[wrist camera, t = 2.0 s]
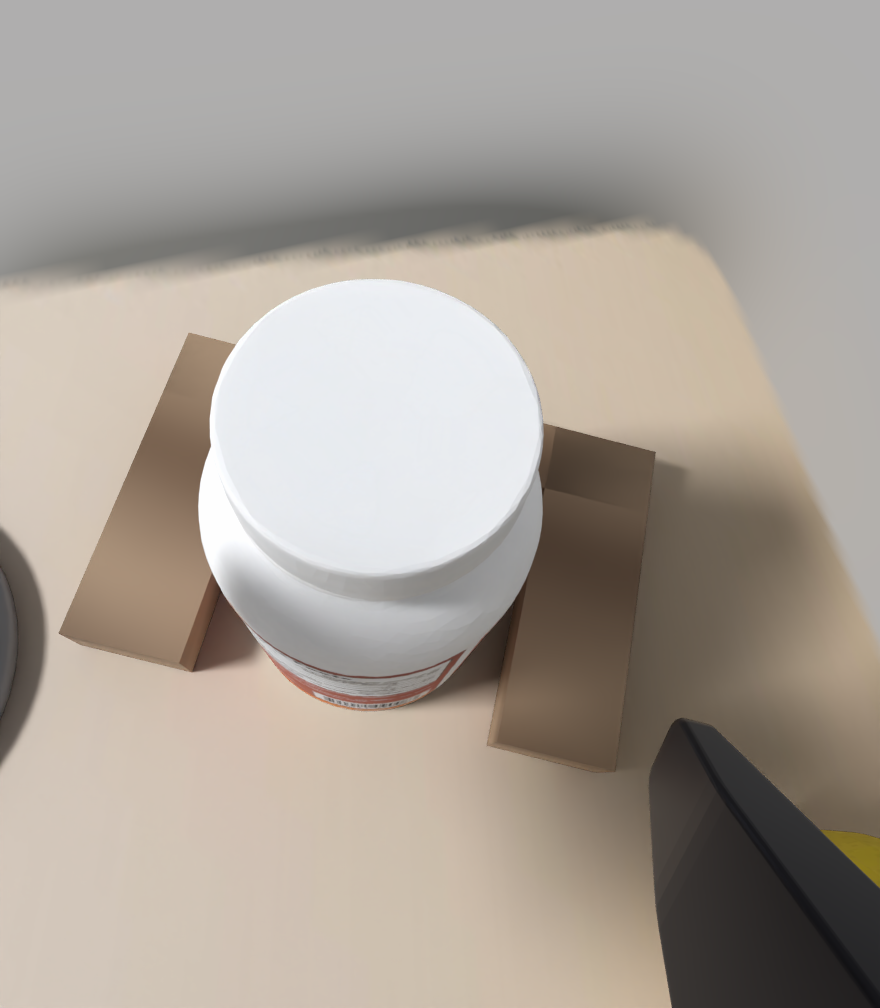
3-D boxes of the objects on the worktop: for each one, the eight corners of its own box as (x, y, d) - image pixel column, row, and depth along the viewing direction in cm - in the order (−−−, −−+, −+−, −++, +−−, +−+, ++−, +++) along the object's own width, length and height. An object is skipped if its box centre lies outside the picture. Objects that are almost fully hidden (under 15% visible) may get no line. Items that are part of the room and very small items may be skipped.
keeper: (596, 772, 19) (615, 771, 18) (80, 644, 19) (58, 633, 18) (637, 472, 23) (655, 452, 21) (199, 360, 22) (188, 332, 21)
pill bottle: (386, 459, 22) (413, 170, 12) (523, 616, 21) (689, 446, 10) (210, 584, 20) (56, 370, 10) (348, 766, 19) (339, 742, 8)
